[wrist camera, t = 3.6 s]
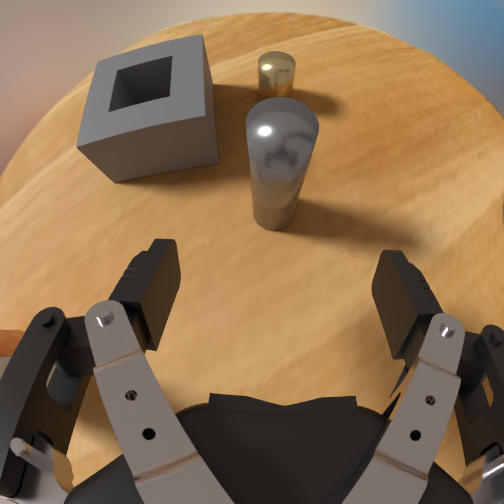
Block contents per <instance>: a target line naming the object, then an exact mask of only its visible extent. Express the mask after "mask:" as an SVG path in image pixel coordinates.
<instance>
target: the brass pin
mask: <svg viewBox="0 0 504 504" xmlns="http://www.w3.org/2000/svg"><path fill="white" fill-rule="evenodd" d="M295 65H296V63H295V60H294V58H293V57H292V56H290V55H289V54H286V53H284V52H278V51H273V52H268V53H265V54H263V55H262V56H260V58H259V59H258V83H259V101H260V102H261V101H263V100H265V99H268V98H273V97H287V98H292V90H293V81H294V73H295Z"/></svg>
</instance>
